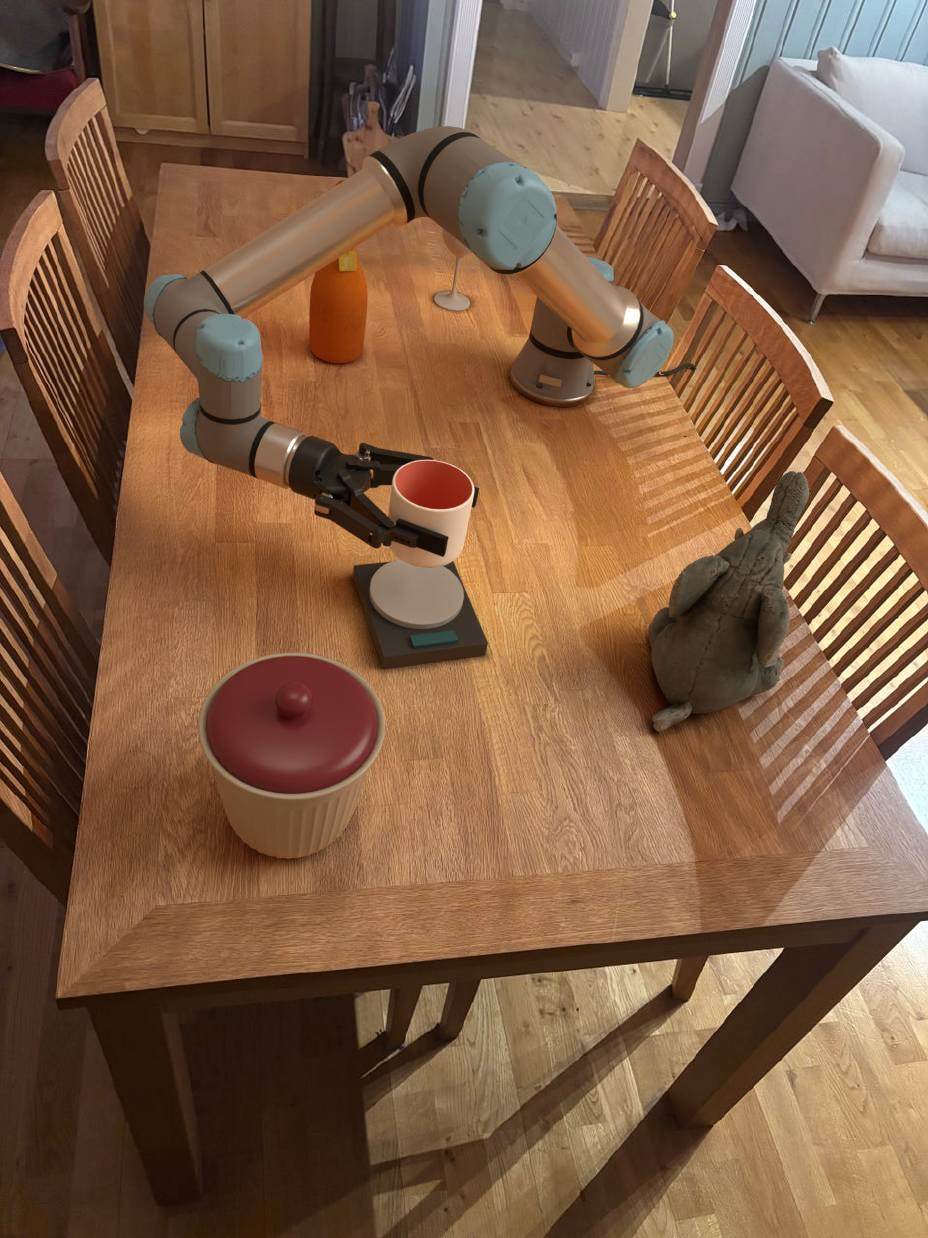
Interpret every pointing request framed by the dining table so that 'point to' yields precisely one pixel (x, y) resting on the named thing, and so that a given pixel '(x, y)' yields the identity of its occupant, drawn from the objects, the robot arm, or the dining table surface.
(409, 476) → the cup
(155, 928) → the dining table surface
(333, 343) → the wine bottle
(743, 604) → the stuffed elephant
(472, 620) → the scale
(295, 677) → the canister
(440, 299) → the wineglass
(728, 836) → the dining table surface
